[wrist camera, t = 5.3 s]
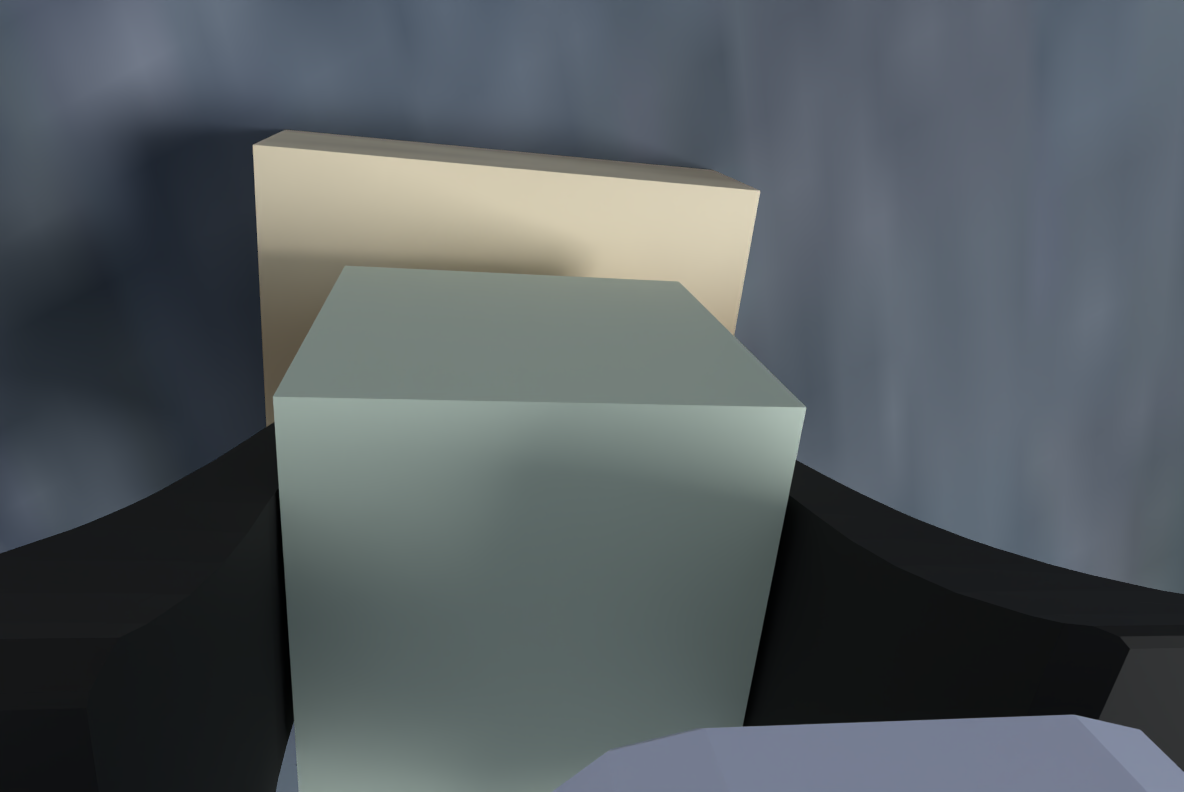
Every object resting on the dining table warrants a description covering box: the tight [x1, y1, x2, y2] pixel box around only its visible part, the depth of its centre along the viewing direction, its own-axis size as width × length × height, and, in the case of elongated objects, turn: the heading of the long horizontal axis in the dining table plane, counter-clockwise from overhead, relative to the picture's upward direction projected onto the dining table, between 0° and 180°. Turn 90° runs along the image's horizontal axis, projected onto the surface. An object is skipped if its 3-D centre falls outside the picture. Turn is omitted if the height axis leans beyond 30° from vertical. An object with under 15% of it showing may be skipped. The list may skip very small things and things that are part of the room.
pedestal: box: [253, 130, 760, 427], centre depth 16 cm, size 8×8×3 cm
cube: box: [273, 266, 806, 792], centre depth 11 cm, size 5×5×5 cm
